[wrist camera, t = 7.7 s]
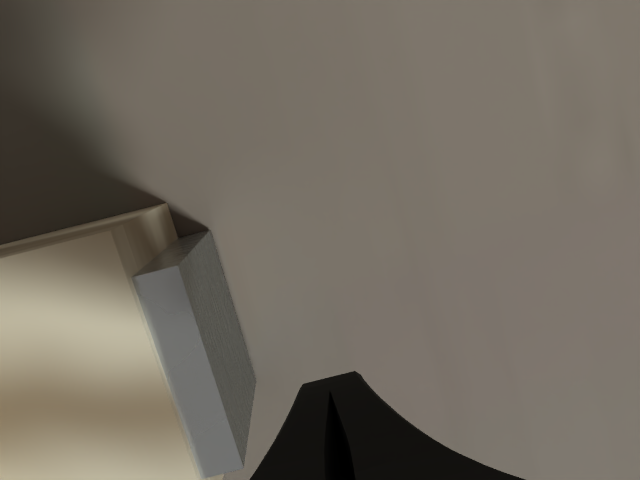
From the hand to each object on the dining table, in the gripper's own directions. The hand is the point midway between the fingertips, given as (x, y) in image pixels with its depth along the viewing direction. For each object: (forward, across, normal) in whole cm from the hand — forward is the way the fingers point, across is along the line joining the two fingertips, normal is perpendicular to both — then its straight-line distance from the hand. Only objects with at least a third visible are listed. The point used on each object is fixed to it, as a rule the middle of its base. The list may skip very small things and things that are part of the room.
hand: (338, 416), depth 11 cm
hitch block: (+10, +10, 0) cm, 14 cm away
